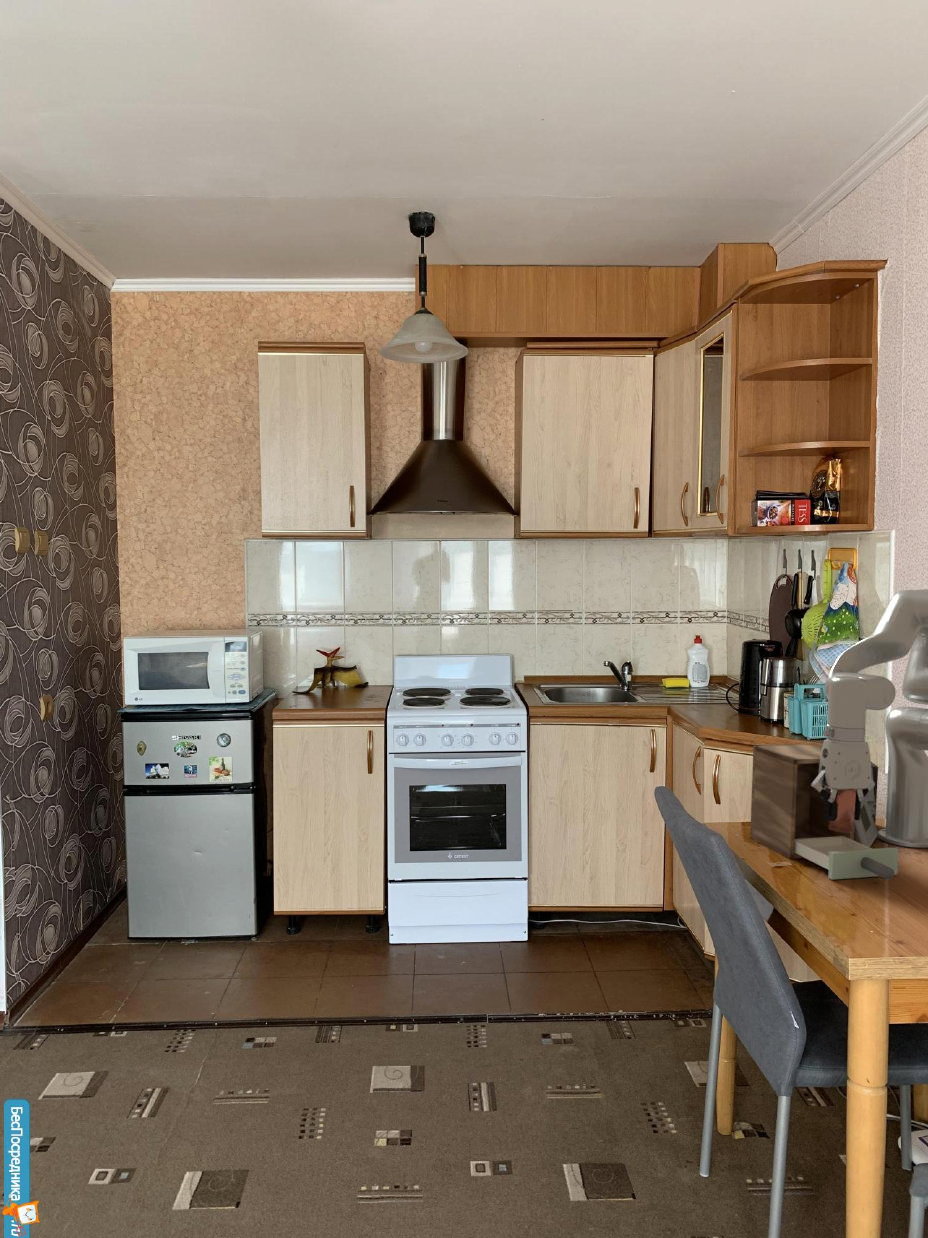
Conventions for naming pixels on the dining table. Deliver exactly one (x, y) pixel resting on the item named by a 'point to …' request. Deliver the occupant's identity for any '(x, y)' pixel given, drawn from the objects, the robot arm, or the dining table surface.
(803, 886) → the dining table surface
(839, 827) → the tea tin
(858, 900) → the dining table surface
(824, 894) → the dining table surface
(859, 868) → the green drawer
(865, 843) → the digital clock
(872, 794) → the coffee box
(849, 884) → the dining table surface
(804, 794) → the drawer cabinet
